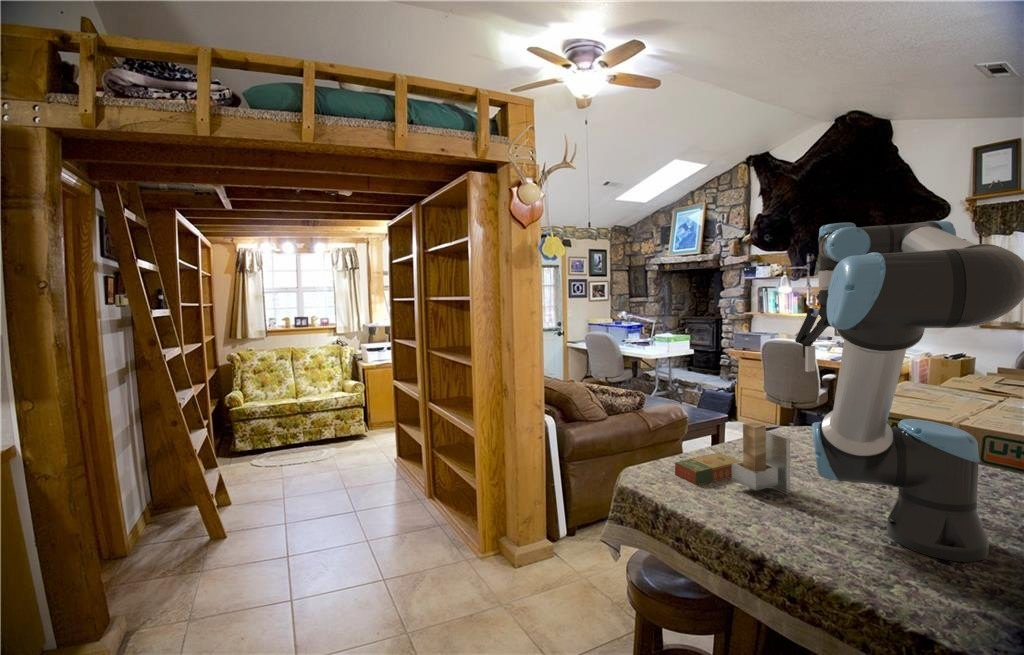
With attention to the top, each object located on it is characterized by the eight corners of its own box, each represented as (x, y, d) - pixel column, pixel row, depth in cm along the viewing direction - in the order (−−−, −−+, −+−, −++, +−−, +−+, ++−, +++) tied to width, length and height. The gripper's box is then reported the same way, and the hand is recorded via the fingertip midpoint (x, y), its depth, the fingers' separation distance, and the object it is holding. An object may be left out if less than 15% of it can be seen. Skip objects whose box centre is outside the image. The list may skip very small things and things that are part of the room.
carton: (742, 475, 134) (742, 460, 133) (695, 487, 128) (695, 471, 127) (719, 466, 141) (719, 451, 141) (674, 476, 136) (674, 461, 135)
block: (765, 480, 122) (765, 425, 120) (755, 483, 120) (754, 427, 119) (754, 475, 125) (753, 421, 124) (743, 478, 124) (742, 423, 123)
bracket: (790, 493, 120) (790, 437, 119) (760, 501, 117) (759, 444, 116) (756, 479, 130) (756, 427, 129) (727, 486, 126) (727, 433, 125)
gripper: (904, 286, 108) (902, 380, 110) (800, 288, 131) (800, 366, 133) (883, 287, 106) (881, 384, 107) (780, 289, 129) (780, 369, 130)
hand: (836, 375), depth 120 cm, fingers open, 13 cm apart
